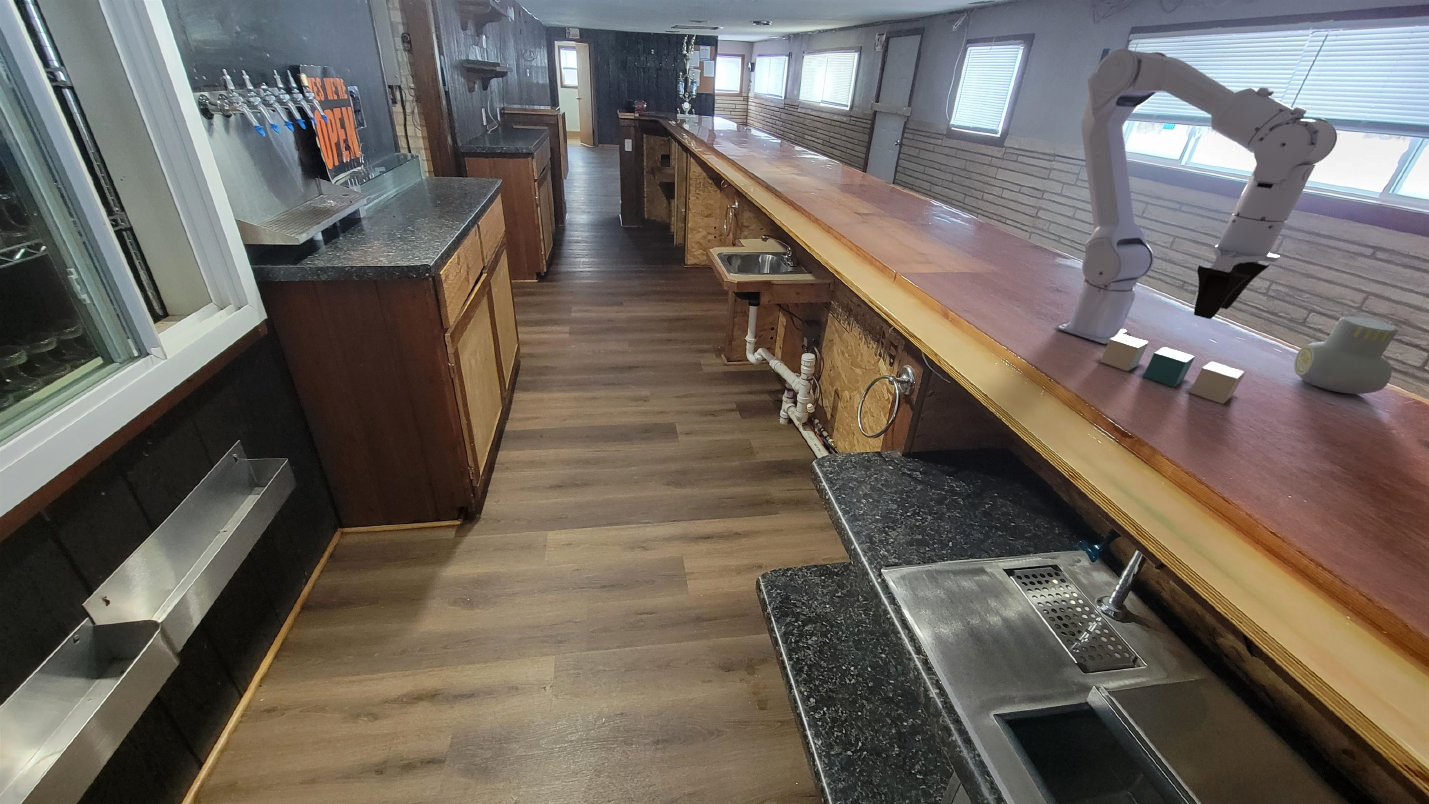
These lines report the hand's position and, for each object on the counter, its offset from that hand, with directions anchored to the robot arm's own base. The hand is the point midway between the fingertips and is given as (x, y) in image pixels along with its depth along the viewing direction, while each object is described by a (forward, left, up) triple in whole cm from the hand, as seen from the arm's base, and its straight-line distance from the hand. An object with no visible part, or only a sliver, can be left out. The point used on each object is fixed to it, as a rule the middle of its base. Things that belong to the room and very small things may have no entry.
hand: (1211, 311), depth 83 cm
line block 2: (+7, +6, -9) cm, 13 cm away
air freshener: (-13, +15, -10) cm, 22 cm away
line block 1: (+7, -6, -9) cm, 13 cm away
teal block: (+7, 0, -9) cm, 12 cm away
